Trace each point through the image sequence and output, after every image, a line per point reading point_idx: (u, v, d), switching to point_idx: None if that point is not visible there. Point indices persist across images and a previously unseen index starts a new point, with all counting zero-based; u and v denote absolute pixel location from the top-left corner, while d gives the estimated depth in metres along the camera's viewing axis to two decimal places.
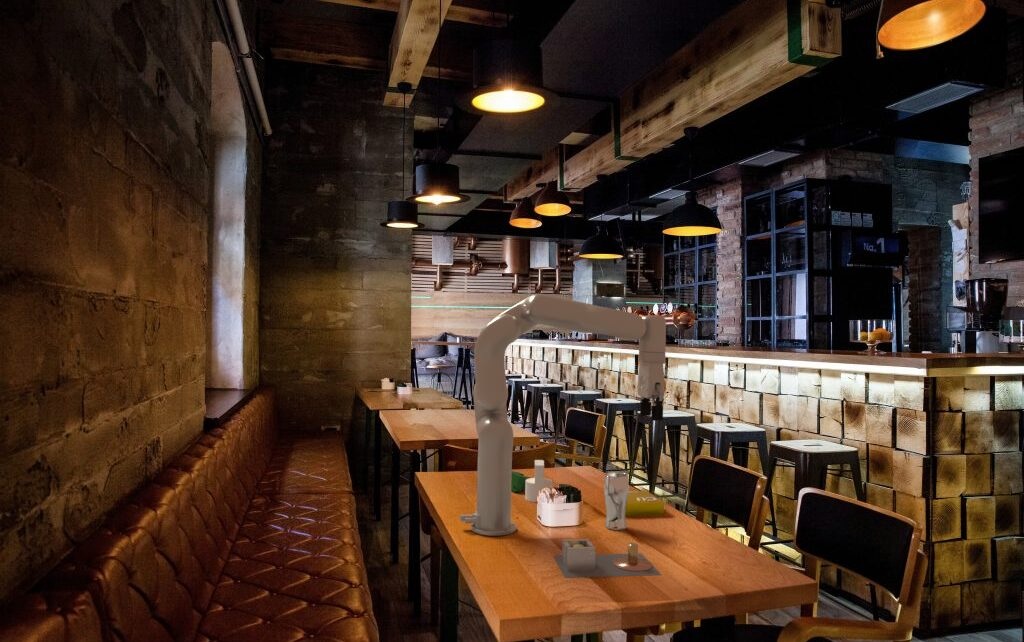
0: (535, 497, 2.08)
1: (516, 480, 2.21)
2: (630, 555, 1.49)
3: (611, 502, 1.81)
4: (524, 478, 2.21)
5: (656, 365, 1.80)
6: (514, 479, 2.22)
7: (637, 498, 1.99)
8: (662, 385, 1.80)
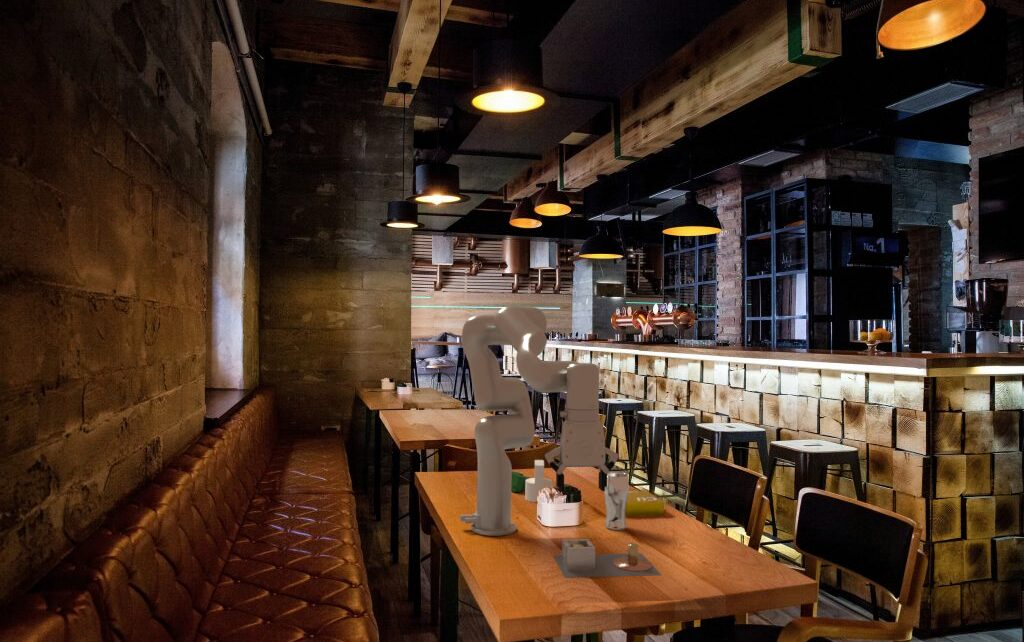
0: (535, 497, 2.08)
1: (515, 480, 2.21)
2: (630, 555, 1.49)
3: (611, 502, 1.81)
4: (523, 478, 2.21)
5: None
6: (514, 479, 2.22)
7: (637, 498, 1.99)
8: None
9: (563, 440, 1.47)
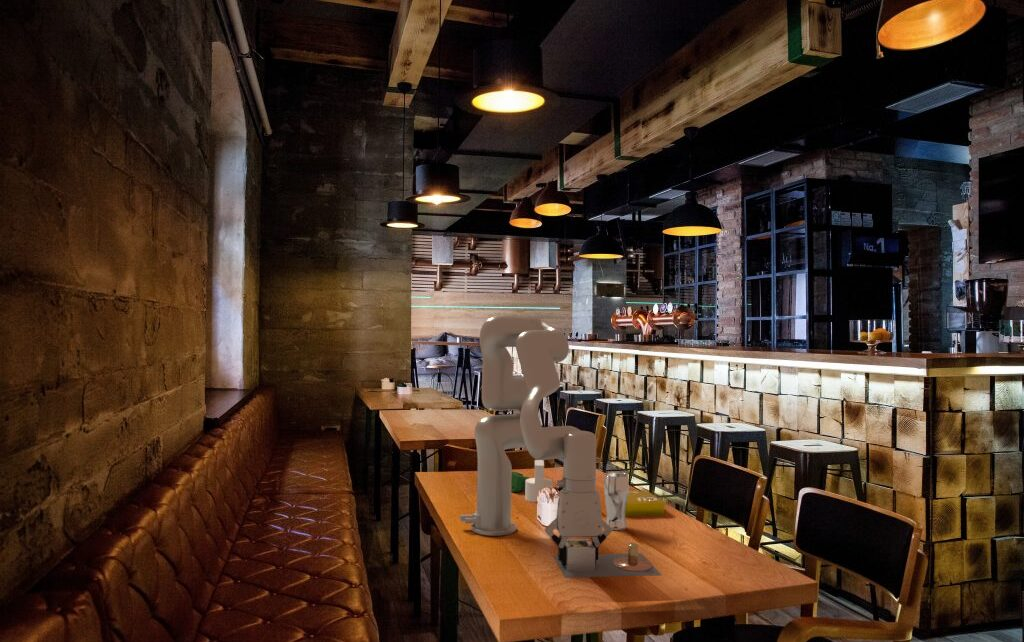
0: (535, 497, 2.08)
1: (515, 480, 2.21)
2: (630, 555, 1.49)
3: (611, 502, 1.81)
4: (523, 478, 2.21)
5: None
6: (513, 479, 2.22)
7: (638, 498, 1.99)
8: None
9: (560, 510, 1.46)
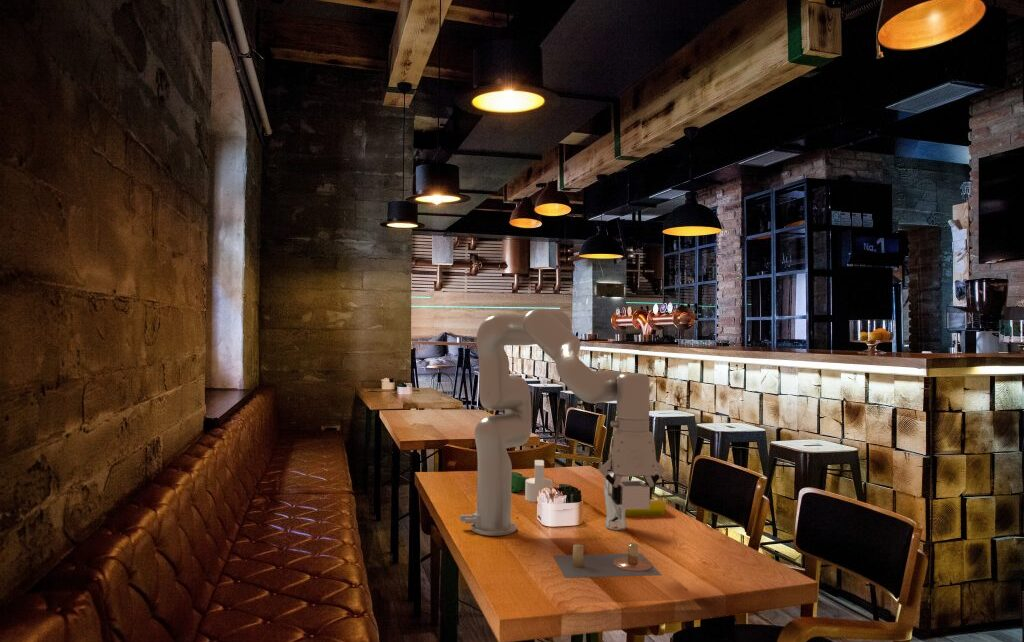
0: (535, 497, 2.08)
1: (514, 480, 2.21)
2: (630, 555, 1.49)
3: (611, 502, 1.81)
4: (522, 478, 2.20)
5: None
6: (513, 479, 2.22)
7: None
8: None
9: (614, 450, 1.48)
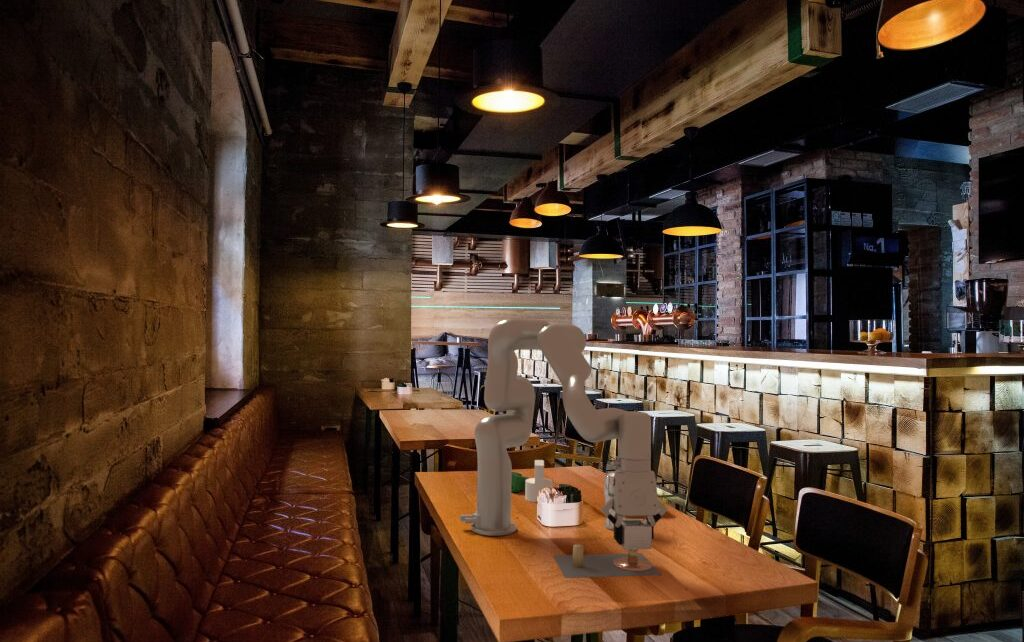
0: (535, 497, 2.08)
1: (513, 480, 2.21)
2: (630, 555, 1.49)
3: None
4: (522, 478, 2.20)
5: None
6: (512, 479, 2.22)
7: None
8: None
9: (616, 490, 1.47)
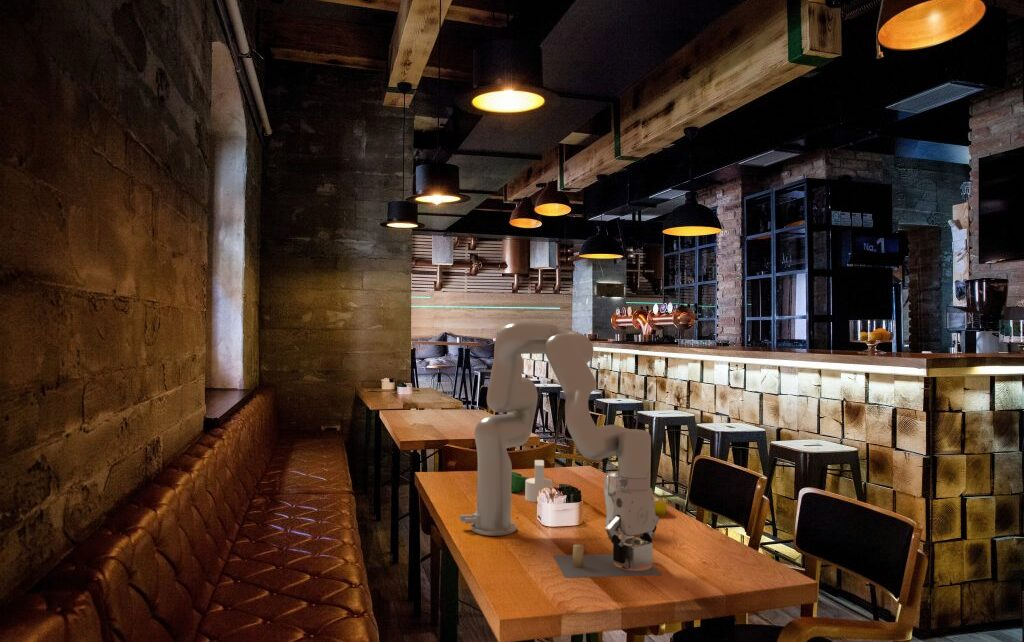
0: (535, 497, 2.08)
1: (513, 480, 2.21)
2: None
3: (611, 502, 1.81)
4: (521, 478, 2.20)
5: None
6: (512, 479, 2.22)
7: None
8: None
9: (625, 510, 1.45)
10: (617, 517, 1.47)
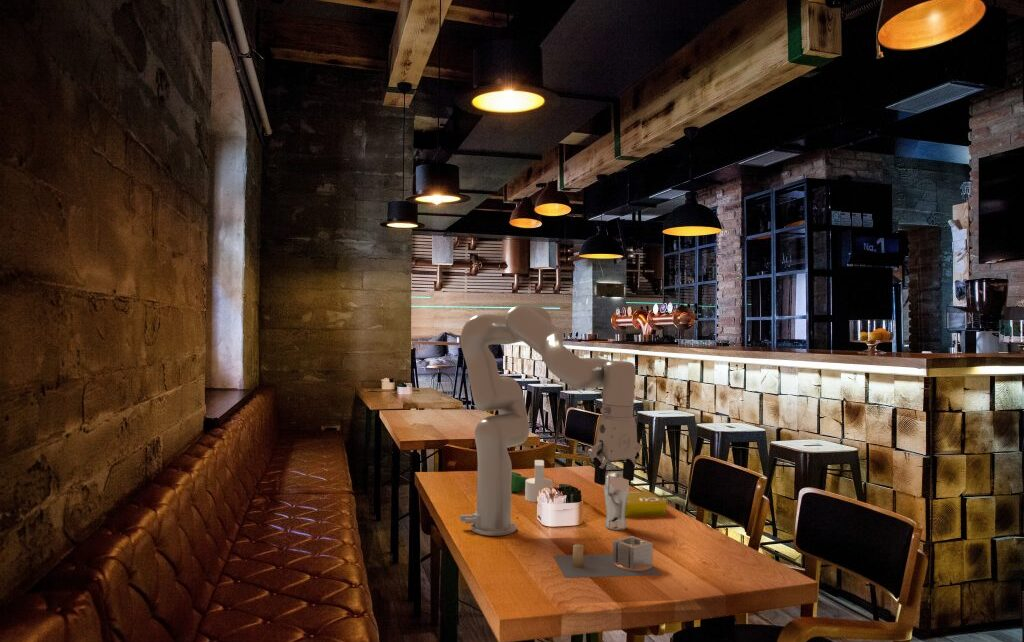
0: (535, 497, 2.08)
1: (513, 480, 2.21)
2: None
3: (611, 502, 1.81)
4: (521, 478, 2.20)
5: None
6: (511, 479, 2.21)
7: (640, 498, 1.99)
8: None
9: (607, 436, 1.52)
10: (600, 442, 1.54)
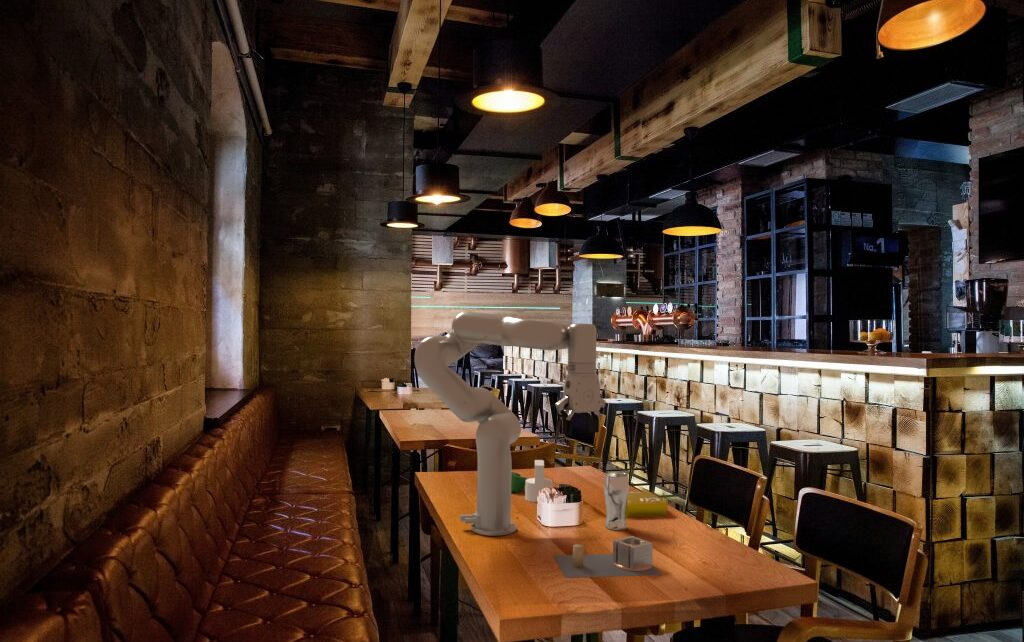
0: (535, 497, 2.08)
1: (512, 480, 2.20)
2: None
3: (611, 502, 1.81)
4: (520, 478, 2.20)
5: None
6: (511, 479, 2.21)
7: (640, 499, 1.99)
8: None
9: (572, 390, 1.68)
10: (566, 397, 1.69)
